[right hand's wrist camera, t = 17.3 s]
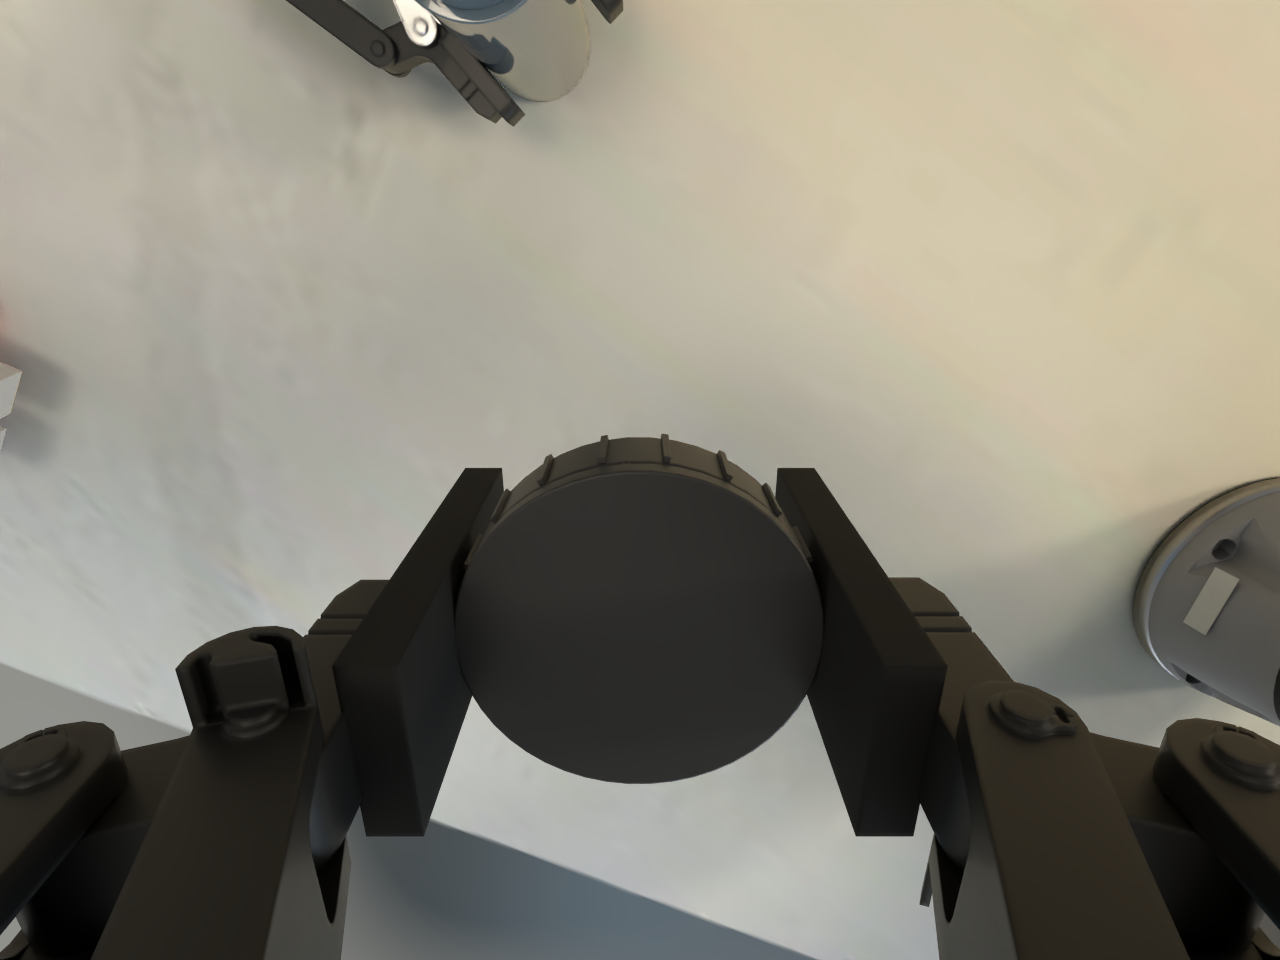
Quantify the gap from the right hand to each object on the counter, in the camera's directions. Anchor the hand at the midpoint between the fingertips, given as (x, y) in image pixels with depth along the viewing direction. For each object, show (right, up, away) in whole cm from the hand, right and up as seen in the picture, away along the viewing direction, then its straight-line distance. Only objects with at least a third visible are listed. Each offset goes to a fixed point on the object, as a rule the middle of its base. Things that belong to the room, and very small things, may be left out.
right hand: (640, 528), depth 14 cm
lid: (0, -1, -4) cm, 4 cm away
